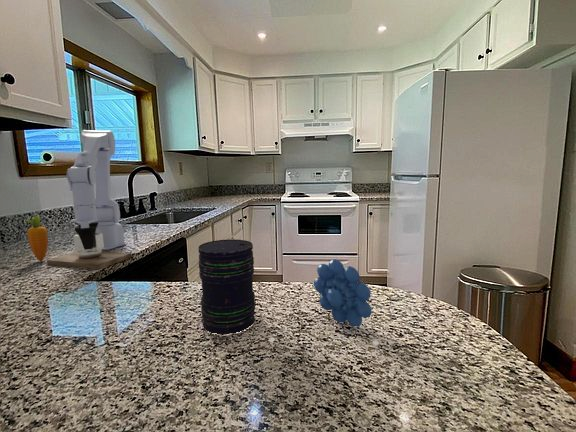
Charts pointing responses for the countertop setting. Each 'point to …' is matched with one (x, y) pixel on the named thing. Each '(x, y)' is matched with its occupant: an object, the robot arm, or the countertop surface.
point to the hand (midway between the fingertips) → (89, 246)
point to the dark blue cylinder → (227, 285)
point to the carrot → (37, 238)
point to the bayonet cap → (89, 253)
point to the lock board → (89, 260)
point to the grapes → (343, 292)
